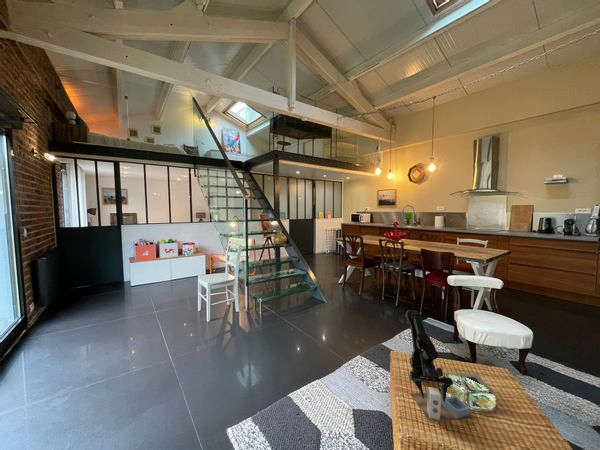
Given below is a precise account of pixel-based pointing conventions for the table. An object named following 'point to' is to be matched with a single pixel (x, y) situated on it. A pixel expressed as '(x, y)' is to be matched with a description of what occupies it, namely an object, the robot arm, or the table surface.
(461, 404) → the socket cup
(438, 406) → the tower
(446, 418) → the walnut board
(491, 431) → the table surface
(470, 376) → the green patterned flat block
